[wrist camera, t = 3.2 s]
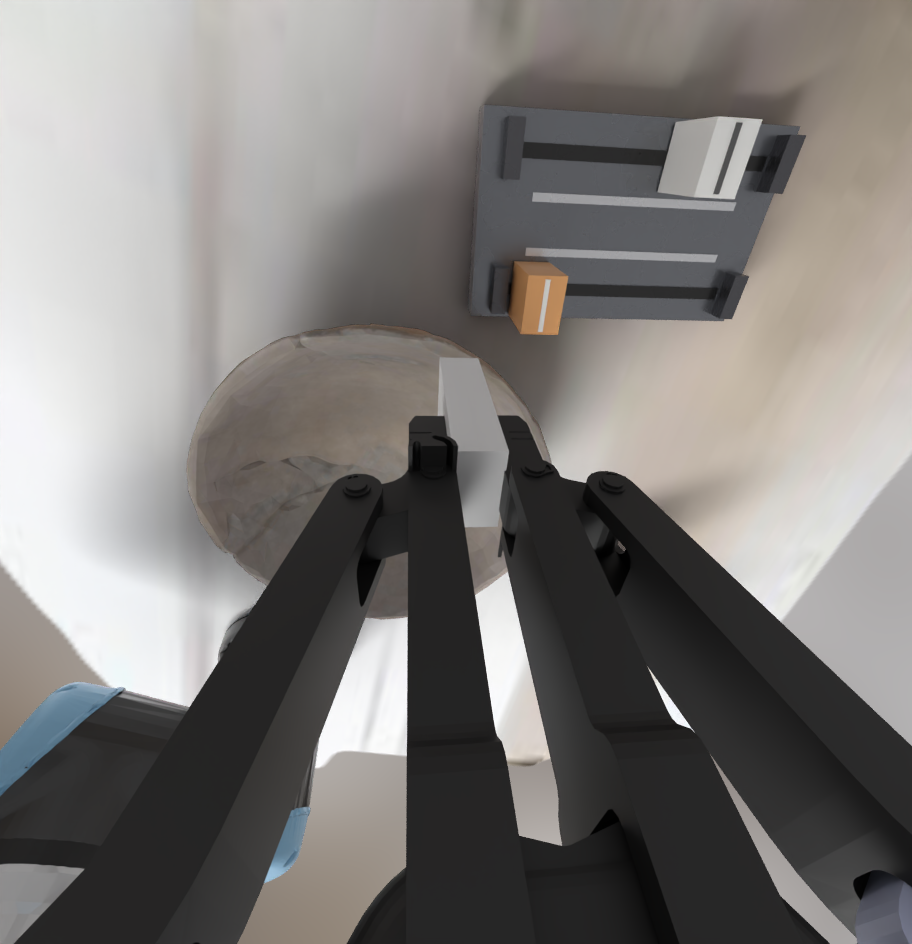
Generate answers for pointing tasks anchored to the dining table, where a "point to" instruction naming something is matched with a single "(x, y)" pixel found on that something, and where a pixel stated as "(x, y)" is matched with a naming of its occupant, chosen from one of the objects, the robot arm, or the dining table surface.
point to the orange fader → (537, 297)
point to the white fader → (708, 156)
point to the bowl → (326, 442)
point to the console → (613, 215)
